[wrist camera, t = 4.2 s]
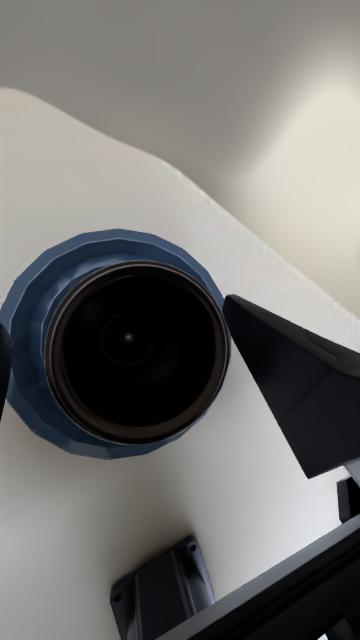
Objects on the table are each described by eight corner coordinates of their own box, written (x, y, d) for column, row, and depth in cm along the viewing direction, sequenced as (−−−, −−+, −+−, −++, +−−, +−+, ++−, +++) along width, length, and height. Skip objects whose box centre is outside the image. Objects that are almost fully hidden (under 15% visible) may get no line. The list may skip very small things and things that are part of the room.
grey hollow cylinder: (169, 325, 16) (255, 314, 6) (141, 380, 15) (187, 473, 5) (114, 295, 15) (110, 221, 5) (81, 352, 14) (-7, 403, 4)
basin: (218, 385, 17) (253, 403, 13) (63, 451, 14) (38, 506, 9) (179, 246, 17) (201, 216, 12) (9, 276, 13) (-42, 249, 9)
